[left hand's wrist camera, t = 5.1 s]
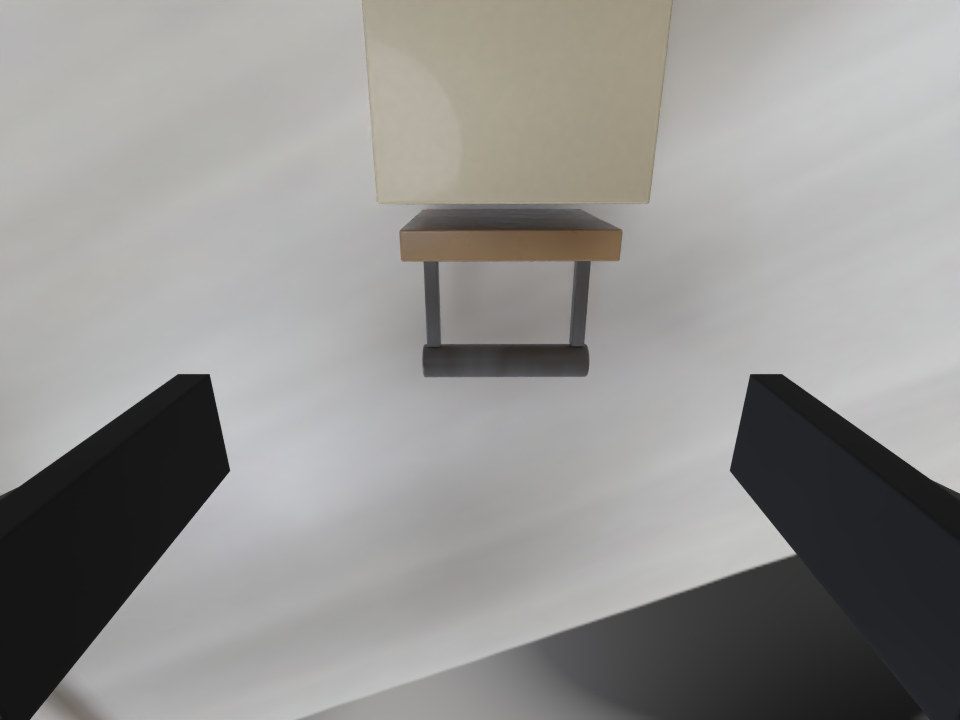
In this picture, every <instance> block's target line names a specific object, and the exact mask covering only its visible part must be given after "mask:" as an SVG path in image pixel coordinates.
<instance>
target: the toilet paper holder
mask: <svg viewBox="0 0 960 720" xmlns="http://www.w3.org/2000/svg"><path fill="white" fill-rule="evenodd" d="M399 233H400V250H401V260H402V261H424V281H425V304H426V328H427V344H425V345H424V347H423V374H424V377H585V376H587V374H588V370H589V351H588V347H587V345H586V344H584V339H585V326H586V314H587V301H588V288H589V276H590V263H591V261H618V260H619V259H620V250H621V240H622V230H621V229H619V228H617V227H615V226H613V225H611V224H609V223H606V222H604V221H602V220H600V219H598V218H596V217H594V216H592V215H590V214H588V213H586V212H584V211H582V210H422V211H421V212H420V213H419V214H418V215H417V216H415V217H414V218H413V219H412V220H411V221H410V222H409V223H408V224H407V225H405V226H404V227H403V228H402V229H401V230H400V232H399ZM438 261H575V265H574V280H573V295H572V310H571V324H570V339H569V342H570V344H441V326H440V294H439V262H438Z"/></svg>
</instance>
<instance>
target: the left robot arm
mask: <svg viewBox="0 0 960 720" xmlns="http://www.w3.org/2000/svg"><path fill="white" fill-rule="evenodd" d="M229 472H230V468H229V463H228V458H227V454H226V449H225V444H224V439H223V435H222V430H221V425H220V421H219V416H218V411H217V407H216V402H215V397H214V393H213V388H212V383H211V378H210V374H178V375H176V376H175V377H173V378H172V379H171V380H169V381H168V382H166V383H165V384H164V385H162V386H161V387H159V388H158V389H156V390H155V391H154V392H152V393H151V394H149V395H148V396H147V397H145V398H144V399H142V400H141V401H140V402H138V403H137V404H135V405H134V406H133V407H131V408H130V409H128V410H127V411H125V412H124V413H123V414H121V415H120V416H118V417H117V418H116V419H114V420H113V421H111V422H110V423H109V424H107V425H106V426H104V427H103V428H101V429H100V430H99V431H97V432H96V433H94V434H93V435H92V436H90V437H89V438H87V439H86V440H85V441H83V442H82V443H80V444H79V445H77V446H76V447H75V448H73V449H72V450H70V451H69V452H68V453H66V454H65V455H63V456H62V457H61V458H59V459H58V460H56V461H55V462H53V463H52V464H51V465H49V466H48V467H46V468H45V469H44V470H42V471H41V472H39V473H38V474H37V475H35V476H34V477H32V478H31V479H29V480H28V481H27V482H25V483H24V484H22V485H21V486H20V487H18V488H16V489H14V490H11V491H9V492H7V493H5V494H3V495H1V496H0V720H30V719H31V718H32V716H33V715H34V714H35V713H36V711H37V710H38V709H39V708H40V707H41V705H42V704H43V703H44V702H45V700H46V699H47V698H48V697H49V695H50V694H51V693H52V692H53V690H54V689H55V688H56V687H57V685H58V684H59V683H60V682H61V680H62V679H63V678H64V677H65V675H66V674H67V673H68V672H69V670H70V669H71V668H72V667H73V666H74V664H75V663H76V662H77V661H78V659H79V658H80V657H81V656H82V654H83V653H84V652H85V651H86V649H87V648H88V647H89V646H90V644H91V643H92V642H93V641H94V639H95V638H96V637H97V636H98V634H99V633H100V632H101V631H102V629H103V628H104V627H105V626H106V624H107V623H108V622H109V621H110V620H111V618H112V617H113V616H114V615H115V613H116V612H117V611H118V610H119V608H120V607H121V606H122V605H123V603H124V602H125V601H126V600H127V598H128V597H129V596H130V595H131V593H132V592H133V591H134V590H135V588H136V587H137V586H138V585H139V583H140V582H141V581H142V580H143V579H144V577H145V576H146V575H147V574H148V572H149V571H150V570H151V569H152V567H153V566H154V565H155V564H156V562H157V561H158V560H159V559H160V557H161V556H162V555H163V554H164V552H165V551H166V550H167V549H168V547H169V546H170V545H171V544H172V542H173V541H174V540H175V539H176V537H177V536H178V535H179V534H180V533H181V531H182V530H183V529H184V528H185V526H186V525H187V524H188V523H189V521H190V520H191V519H192V518H193V516H194V515H195V514H196V513H197V511H198V510H199V509H200V508H201V506H202V505H203V504H204V503H205V501H206V500H207V499H208V498H209V496H210V495H211V494H212V493H213V492H214V490H215V489H216V488H217V487H218V485H219V484H220V483H221V482H222V480H223V479H224V478H225V477H226V475H227V474H228V473H229ZM730 472H731V473H732V474H733V475H734V477H735V478H736V479H737V480H738V482H739V483H740V484H741V485H742V487H743V488H744V489H745V490H746V492H747V493H748V494H749V495H750V496H751V498H752V499H753V500H754V501H755V503H756V504H757V505H758V506H759V508H760V509H761V510H762V511H763V513H764V514H765V515H766V516H767V518H768V519H769V520H770V521H771V523H772V524H773V525H774V526H775V528H776V529H777V530H778V531H779V533H780V534H781V535H782V536H783V537H784V539H785V540H786V541H787V542H788V544H789V545H790V546H791V547H792V549H793V550H794V551H795V552H796V554H797V555H798V556H799V557H800V559H801V560H802V561H803V562H804V564H805V565H806V566H807V567H808V569H809V570H810V571H811V572H812V574H813V575H814V576H815V577H816V579H817V580H818V581H819V582H820V583H821V585H822V586H823V587H824V588H825V590H826V591H827V592H828V593H829V595H830V596H831V597H832V598H833V600H834V601H835V602H836V603H837V605H838V606H839V607H840V608H841V610H842V611H843V612H844V613H845V615H846V616H847V617H848V618H849V620H850V621H851V622H852V623H853V624H854V626H855V627H856V628H857V629H858V631H859V632H860V633H861V634H862V636H863V637H864V638H865V639H866V641H867V642H868V643H869V644H870V646H871V647H872V648H873V649H874V651H875V652H876V653H877V654H878V656H879V657H880V658H881V659H882V661H883V662H884V663H885V664H886V665H887V667H888V668H889V669H890V670H891V672H892V673H893V674H894V675H895V677H896V678H897V679H898V680H899V682H900V683H901V684H902V685H903V687H904V688H905V689H906V690H907V692H908V693H909V694H910V695H911V697H912V698H913V699H914V700H915V702H916V703H917V704H918V705H919V706H920V708H921V709H922V710H923V711H924V713H925V714H926V715H927V716H928V718H929V719H930V720H960V493H957V492H955V491H953V490H951V489H949V488H947V487H945V486H943V485H941V484H939V483H937V482H934V481H932V480H931V479H929V478H928V477H926V476H925V475H923V474H922V473H921V472H919V471H918V470H916V469H915V468H914V467H912V466H911V465H909V464H908V463H907V462H905V461H904V460H902V459H901V458H899V457H898V456H897V455H895V454H894V453H892V452H891V451H890V450H888V449H887V448H885V447H884V446H883V445H881V444H880V443H878V442H877V441H875V440H874V439H873V438H871V437H870V436H868V435H867V434H866V433H864V432H863V431H861V430H860V429H859V428H857V427H856V426H854V425H853V424H851V423H850V422H849V421H847V420H846V419H844V418H843V417H842V416H840V415H839V414H837V413H836V412H835V411H833V410H832V409H830V408H829V407H827V406H826V405H825V404H823V403H822V402H820V401H819V400H818V399H816V398H815V397H813V396H812V395H811V394H809V393H808V392H806V391H805V390H804V389H802V388H801V387H799V386H798V385H796V384H795V383H794V382H792V381H791V380H789V379H788V378H787V377H785V376H784V375H782V374H750V378H749V383H748V388H747V393H746V397H745V402H744V407H743V411H742V416H741V421H740V425H739V430H738V435H737V439H736V444H735V449H734V454H733V458H732V463H731V468H730Z"/></svg>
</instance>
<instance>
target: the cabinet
mask: <svg viewBox="0 0 960 720" xmlns="http://www.w3.org/2000/svg"><path fill="white" fill-rule="evenodd" d="M672 2H673V0H362V6H363V19H364V33H365V47H366V60H367V74H368V88H369V101H370V115H371V129H372V142H373V156H374V170H375V183H376V197H377V203H378V204H647V203H649V200H650V191H651V183H652V174H653V166H654V157H655V148H656V140H657V131H658V122H659V114H660V105H661V97H662V88H663V79H664V71H665V62H666V54H667V45H668V36H669V28H670V19H671V11H672Z"/></svg>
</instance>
